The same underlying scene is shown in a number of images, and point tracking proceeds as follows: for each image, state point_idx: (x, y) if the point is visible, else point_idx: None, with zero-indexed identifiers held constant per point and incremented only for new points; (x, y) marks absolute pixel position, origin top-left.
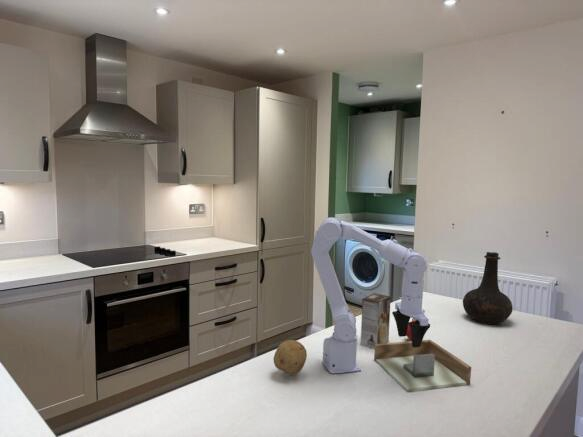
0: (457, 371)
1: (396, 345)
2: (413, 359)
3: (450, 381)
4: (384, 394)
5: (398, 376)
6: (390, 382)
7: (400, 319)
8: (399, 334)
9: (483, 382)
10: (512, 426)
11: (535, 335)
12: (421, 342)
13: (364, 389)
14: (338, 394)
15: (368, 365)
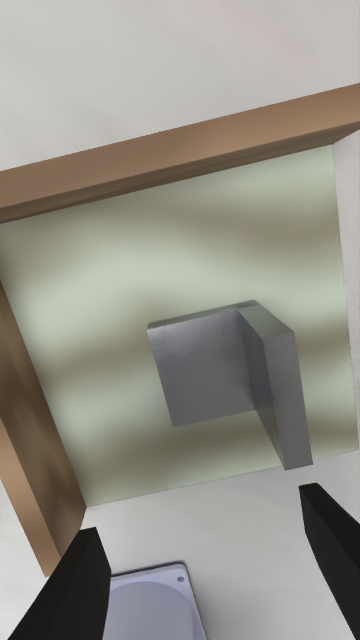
0: (259, 157)
1: (26, 463)
2: (277, 451)
3: (315, 234)
4: (356, 517)
5: (252, 456)
6: (273, 481)
7: None
8: (107, 593)
9: (304, 15)
10: None
11: None
12: (340, 506)
13: (316, 568)
14: (337, 635)
15: (128, 529)
